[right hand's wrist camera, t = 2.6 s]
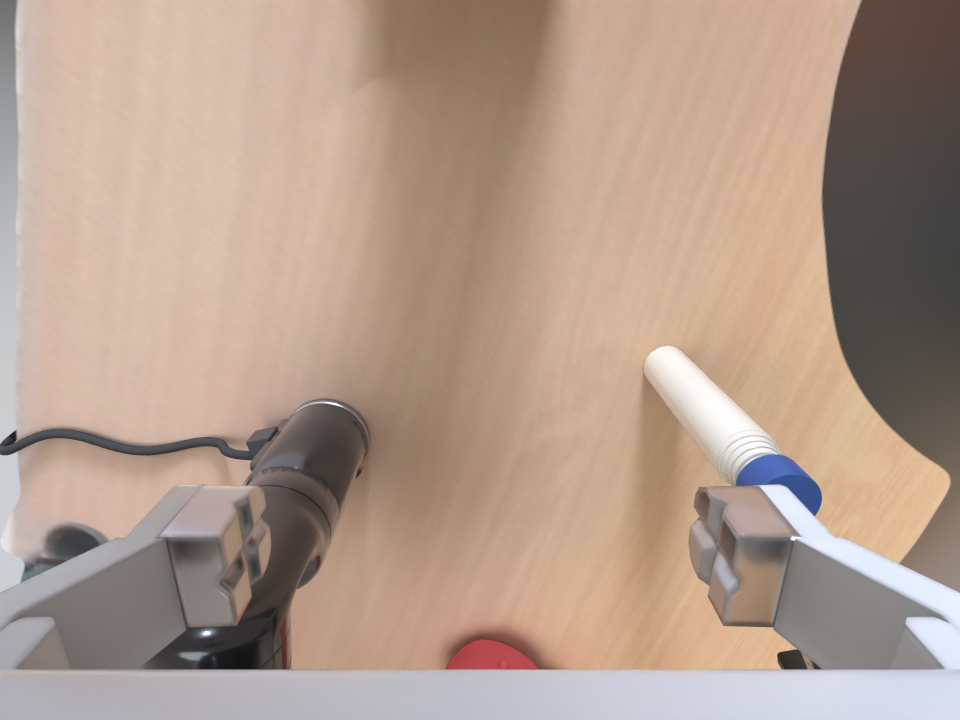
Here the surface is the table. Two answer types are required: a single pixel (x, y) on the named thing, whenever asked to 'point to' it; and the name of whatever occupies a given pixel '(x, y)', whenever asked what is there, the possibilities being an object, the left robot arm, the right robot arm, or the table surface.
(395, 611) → the table surface
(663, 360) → the bottle
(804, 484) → the cap
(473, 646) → the toy
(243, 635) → the left robot arm
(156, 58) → the table surface
